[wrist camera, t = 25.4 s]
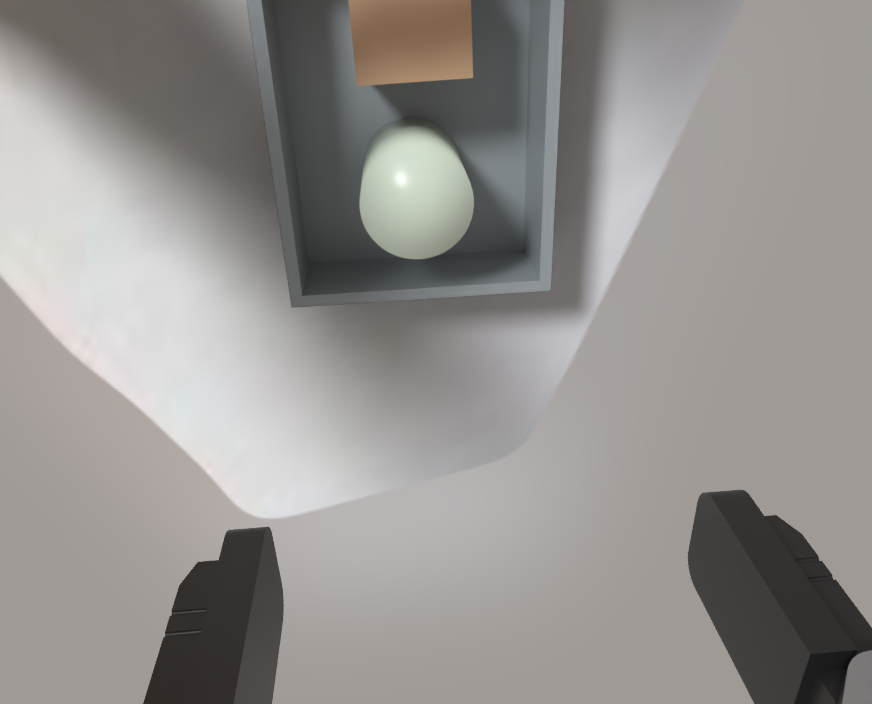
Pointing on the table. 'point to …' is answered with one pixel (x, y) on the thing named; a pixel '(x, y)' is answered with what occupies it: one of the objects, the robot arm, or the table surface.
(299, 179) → the tote
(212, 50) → the table surface
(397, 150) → the sage cylinder
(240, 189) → the table surface
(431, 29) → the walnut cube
